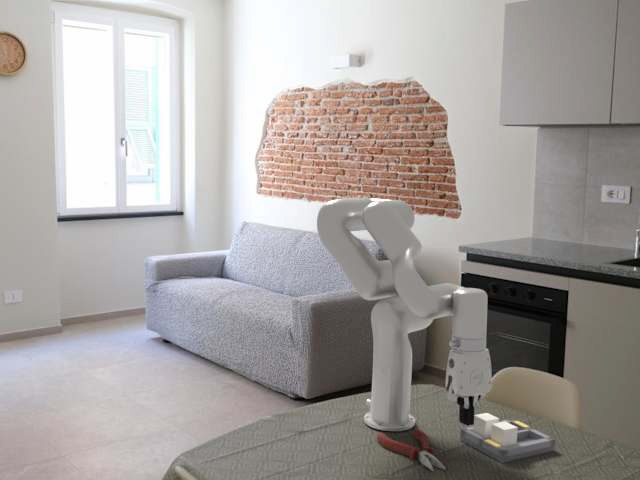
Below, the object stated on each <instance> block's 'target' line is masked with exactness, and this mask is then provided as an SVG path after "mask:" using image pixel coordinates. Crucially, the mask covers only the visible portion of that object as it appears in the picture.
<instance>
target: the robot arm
mask: <svg viewBox="0 0 640 480" xmlns="http://www.w3.org/2000/svg"><path fill="white" fill-rule="evenodd" d="M316 218H317V219H316V228H317V230H316V231H317V234H318V236H319V239H320V241H321V243H322V245H323V246H324V249H326V250H327V252H328V253H329V254H330V255H331V257H332V258H333V259H334V260H335V262H337V264H338V266H339V267H340V269H341V271H342V272H343V273H344V275H345V276H346V278H347V280H348V281H349V282H350V283H351V286H352V287H353V288H354V290H355V291H356V292H357V293H358V295H359V296H360V297H361V298H362V299H363V300H366V301H378V302H376V303H375V305H374V306H373V307H372V310H371V314H370V323H371V329H372V340H373V343H372V344H373V345H372V346H373V347H372V348H373V349H372V350H373V353H372V375H371V376H372V378H371V381H372V382H371V397H370V399H369V398H368V399H366V400H365V404H366V405H367V406H369V411H367V412H366V413H365V414H364V417H363V421H364V423H365V424H366V425H367V426H369V427H370V428H373V429H375V430H379V431H384V432H403V431H408V430H410V429H413V428H414V427H415V425H416V418H415V417H414V416H413V415H412V414H410V410H411V408H410V407H411V394H412V393H411V390H412V374H413V373H412V371H413V370H412V369H413V348H412V345H411V342H410V339H409V334H410V333H413V332H417V331H421V330H424V329H426V328H428V327H429V326H430V325H431V324H432V323H433V321H434V320H436V319H439V318H444V317H449V316H451V317H452V326H451V328H452V330H451V331H452V332H451V333H452V335H451V340H450V341H449V343H448V346H449V347H450V348H451V349H450V350H449V354H448V357H447V363H446V370H445V390H446V392H447V395H446V399H447V400H448V401H450V402H455V403H456V405H457V406H459V414H458V415H459V417H458V419H459V423H461V424H463V425H466V426H468V427H470V426H473V424H474V415H475V408H476V407H477V406H478V402H479V400H480V399H481V398H483V397H485V396H487V395H488V393H489V392H490V391H491V390H492V386H493V385H492V384H493V383H492V382H493V381H492V377H493V376H492V363H491V362H492V361H491V355H490V351H489V349H488V348H487V326H488V325H487V324H488V297H489V296H488V294H487V292H486V291H485V290H483V289H481V288H476V287H475V288H474V287H465V286H461V285H458V284H455V283H451V282H450V283H449V282H447V283H446V282H445V283H439V284H432V285H427V284H426V282H425V281H424V279H423V278H422V277H421V276H420V275H419V273H418V271H417V269H416V266H415V260H416V259H417V257H418V256H419V255H420V253H421V250H422V247H423V246H422V243H421V241H420V239H418V237H417V236H416V235H415V233H414V232H413V231H412V228H413V226H414V224H415V219H416V218H415V213H414V210H413V208H412V207H411V206H410V205H409V204H408V202H405V201H404V200H401V199H385V198H383V199H382V198H373V197H354V198H353V197H351V198H338V199H337V198H336V199H332V200H329V201H327V202H325V203H324V204H323V205H322V206H321V207H320V208H319V211H318V214H317V217H316ZM357 231H358V232H360V231H367V233H369V235H370V236H371V238H372V239H373V241H374V242H375V243H376V244H377V245H378V248H380V250H381V251H382V252H383V254H384V255H385V257H386V258H387V260H385V259H384V260H379V259H377V258H376V257H375V256H374V255H373V252H371V251H370V249H369V247H368V246H367V245H366V244H365V243H364V242H363V241H362V240H361V239H360V238H358V237H357V236H356V235H354V234H353V233H352V232H357Z"/></svg>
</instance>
